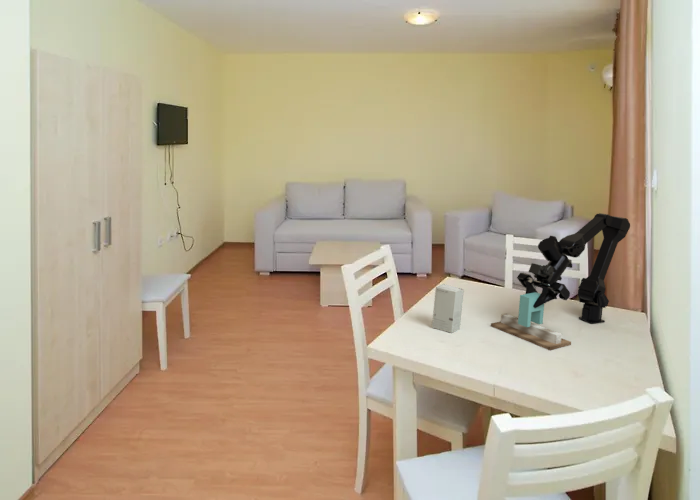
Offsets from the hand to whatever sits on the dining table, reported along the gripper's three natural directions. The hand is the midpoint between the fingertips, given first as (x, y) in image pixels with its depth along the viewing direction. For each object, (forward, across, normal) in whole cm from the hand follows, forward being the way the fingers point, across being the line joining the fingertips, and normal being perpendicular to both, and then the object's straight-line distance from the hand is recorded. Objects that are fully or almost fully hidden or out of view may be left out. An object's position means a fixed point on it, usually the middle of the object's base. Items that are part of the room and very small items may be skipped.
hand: (529, 305), depth 197 cm
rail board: (+7, 0, +8) cm, 11 cm away
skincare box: (+21, -18, -6) cm, 29 cm away
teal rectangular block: (+4, 0, +6) cm, 7 cm away
